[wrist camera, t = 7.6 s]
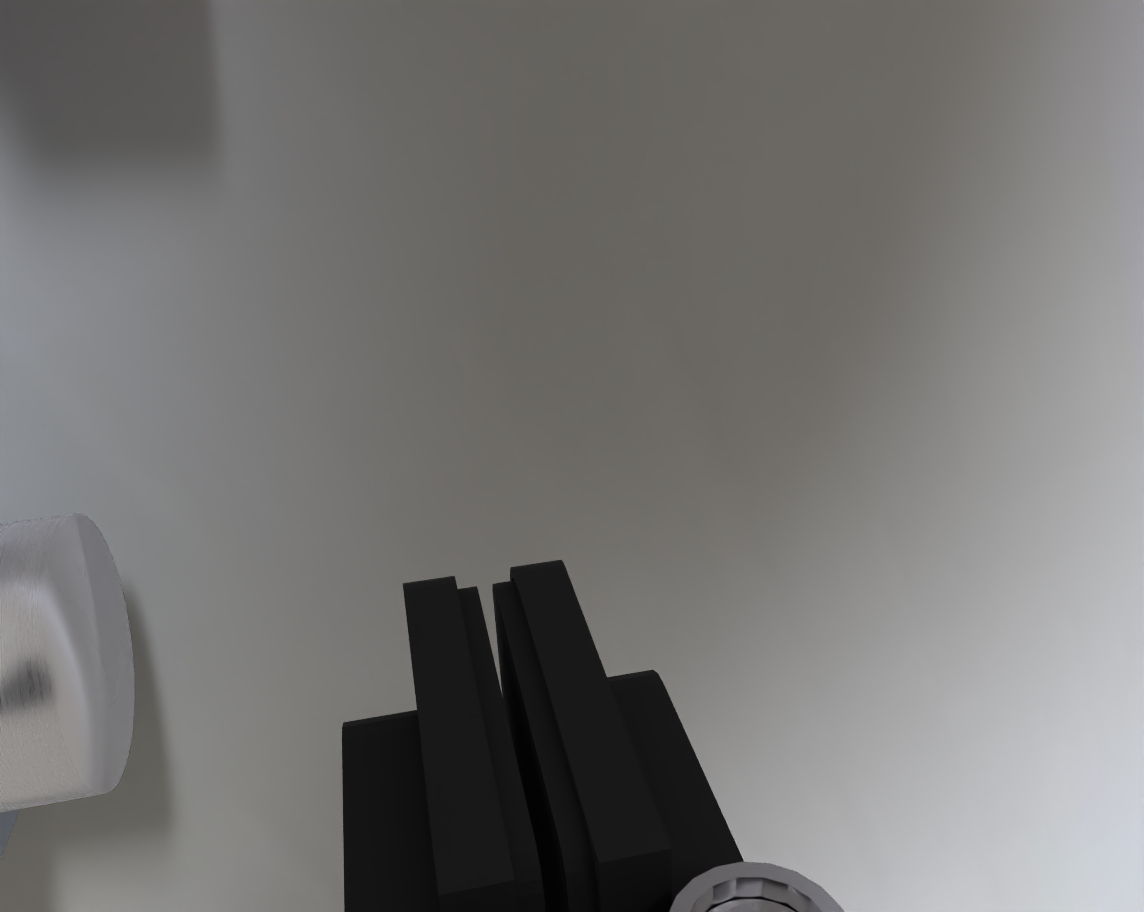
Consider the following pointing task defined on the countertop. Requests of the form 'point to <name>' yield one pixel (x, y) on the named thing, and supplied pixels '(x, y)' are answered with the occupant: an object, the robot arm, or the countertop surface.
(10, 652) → the knob aluminium
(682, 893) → the robot arm
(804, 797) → the countertop surface
